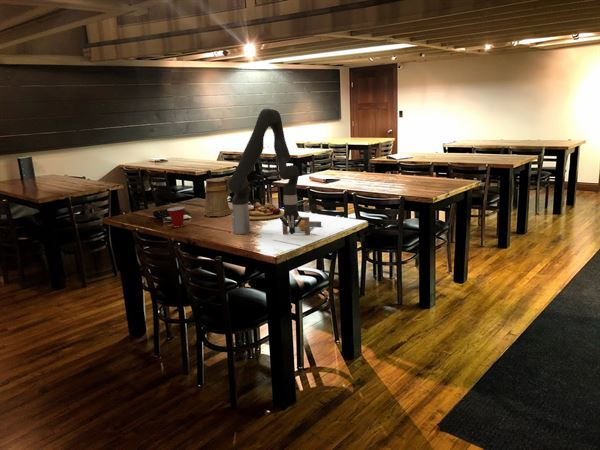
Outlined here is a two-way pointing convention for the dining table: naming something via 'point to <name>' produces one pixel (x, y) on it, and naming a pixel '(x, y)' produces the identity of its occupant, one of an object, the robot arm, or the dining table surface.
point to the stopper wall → (313, 224)
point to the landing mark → (298, 230)
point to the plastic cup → (177, 215)
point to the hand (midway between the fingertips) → (292, 233)
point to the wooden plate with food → (264, 212)
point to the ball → (302, 225)
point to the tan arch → (307, 226)
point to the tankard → (217, 197)
